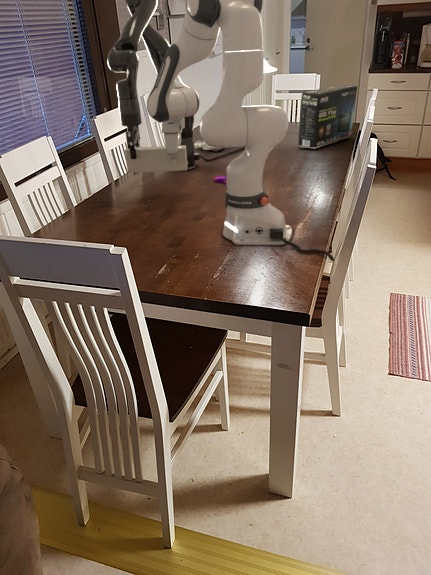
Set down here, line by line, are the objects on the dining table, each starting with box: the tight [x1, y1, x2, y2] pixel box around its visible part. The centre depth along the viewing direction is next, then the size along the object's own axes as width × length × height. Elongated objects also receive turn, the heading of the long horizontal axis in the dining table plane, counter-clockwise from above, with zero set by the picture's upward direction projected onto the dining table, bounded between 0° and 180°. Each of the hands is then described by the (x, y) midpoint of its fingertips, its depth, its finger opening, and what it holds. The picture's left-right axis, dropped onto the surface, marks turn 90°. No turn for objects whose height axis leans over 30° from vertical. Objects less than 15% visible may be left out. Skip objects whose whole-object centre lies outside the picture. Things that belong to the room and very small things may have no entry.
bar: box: [124, 145, 188, 173], centre depth 176 cm, size 23×4×8 cm, turn 89°
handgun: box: [214, 176, 226, 184], centre depth 189 cm, size 21×8×2 cm, turn 11°
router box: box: [297, 84, 358, 151], centre depth 238 cm, size 36×11×27 cm, turn 134°
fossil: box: [194, 140, 223, 153], centre depth 243 cm, size 18×11×15 cm
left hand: (135, 155), depth 176 cm, fingers open, 8 cm apart
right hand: (175, 160), depth 176 cm, fingers closed on bar, 4 cm apart
